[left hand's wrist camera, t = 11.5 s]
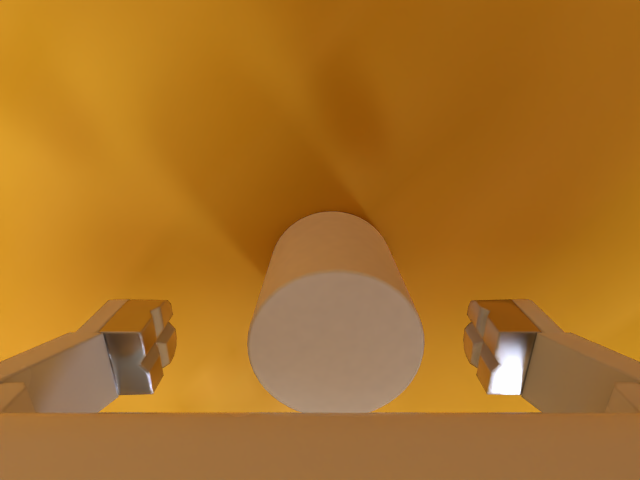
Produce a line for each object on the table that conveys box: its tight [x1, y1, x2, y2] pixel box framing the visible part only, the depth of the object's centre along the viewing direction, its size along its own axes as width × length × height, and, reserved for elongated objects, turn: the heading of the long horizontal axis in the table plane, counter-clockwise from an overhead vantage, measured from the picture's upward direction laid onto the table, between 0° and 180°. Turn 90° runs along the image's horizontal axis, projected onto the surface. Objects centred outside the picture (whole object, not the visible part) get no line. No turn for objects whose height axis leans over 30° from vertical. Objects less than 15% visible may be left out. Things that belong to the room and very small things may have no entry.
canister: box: [247, 211, 424, 413], centre depth 12 cm, size 4×4×5 cm
